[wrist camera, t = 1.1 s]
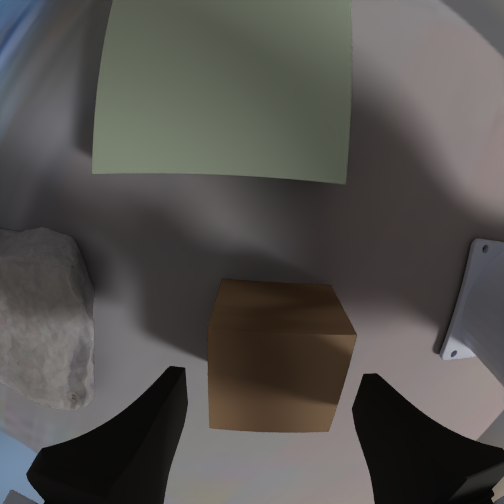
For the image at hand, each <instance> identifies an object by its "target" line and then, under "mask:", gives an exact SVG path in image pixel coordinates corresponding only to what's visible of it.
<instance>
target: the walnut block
mask: <svg viewBox="0 0 504 504" xmlns="http://www.w3.org/2000/svg"><path fill="white" fill-rule="evenodd" d="M356 338H357V334H356V332H355V330H354V328H353V326H352V324H351V322H350V320H349V318H348V316H347V315H346V313H345V311H344V309H343V307H342V305H341V303H340V301H339V300H338V298H337V296H336V294H335V292H334V290H333V288H332V287H331V285H315V284H297V283H279V282H263V281H248V280H233V279H222V281H221V284H220V288H219V291H218V294H217V298H216V301H215V304H214V308H213V311H212V315H211V318H210V321H209V325H208V398H209V428H213V429H224V430H237V431H253V432H329V429H330V426H331V424H332V421H333V418H334V415H335V411H336V408H337V405H338V402H339V399H340V396H341V392H342V389H343V386H344V382H345V379H346V375H347V372H348V368H349V365H350V361H351V357H352V353H353V349H354V346H355V342H356Z"/></svg>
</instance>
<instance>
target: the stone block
mask: <svg viewBox="0 0 504 504" xmlns="http://www.w3.org/2000/svg"><path fill="white" fill-rule="evenodd" d="M94 298H95V289H94V287H93V285H92V283H91V281H90V278H89V275H88V271H87V268H86V266H85V263H84V261H83V258H82V255H81V252H80V250H79V248H78V245H77V243H76V242H75V240H74V239H73V237H71V236H69V235H67V234H61V233H59V232H56V231H53V230H51V229H48V228H45V227H41V228H36V229H26V230H24V231H23V232H20V231H14V230H9V229H0V382H1V383H3V384H5V385H7V386H9V387H10V388H11V389H12V390H14V391H15V392H17V393H19V394H21V395H23V396H25V397H26V398H28V399H30V400H32V401H35V402H37V403H39V404H43V405H45V406H47V407H50V408H58V409H65V410H73V411H77V409H78V408H79V406H84V407H85V406H87V404H88V403H89V402H90V401H91V400H92V399H93V397H94V396H95V388H94V374H93V367H94V354H93V349H94V329H95V327H94V320H93V303H94Z"/></svg>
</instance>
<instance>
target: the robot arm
mask: <svg viewBox="0 0 504 504" xmlns="http://www.w3.org/2000/svg"><path fill="white" fill-rule="evenodd" d="M484 245H485V248H484V250H483V251H482V249H483V246H484ZM452 352H453V353H452ZM475 356H477V357H478V358H479V359H480V360H481V362H482V363H483V364H484V365H485V366H486V367H487V368H488V369H489V370H490V372H491V373H492V374H493V375H494V376H495V377H496V378H497V380H498V381H499V382H500V383H501V384H502V385H503V386H504V242H501V241H493V240H486V239H479V238H478V239H475V240H474V241H473V242H472V244H471V247H470V252H469V257H468V261H467V266H466V270H465V274H464V278H463V282H462V286H461V289H460V293H459V297H458V300H457V303H456V307H455V310H454V313H453V316H452V320H451V323H450V326H449V329H448V332H447V335H446V337H445V340H444V343H443V346H442V348H441V351H440V357H441V358H442V359H443V360H453V359H461V358H468V357H475ZM187 406H188V398H187V386H186V373H185V368H183V367H175V366H170V367H168V368H167V369H166V370H165V372H164V373H163V374H162V375H161V376H160V377H159V378H158V379H157V380H156V381H155V382H154V383H153V384H152V385H151V386H150V387H149V388H148V389H147V390H146V391H145V392H144V393H143V394H142V395H141V396H140V397H139V398H138V399H137V400H135V401H134V402H133V403H132V404H131V405H130V406H128V407H127V408H126V409H125V410H123V411H122V412H121V413H119V414H118V415H117V416H115V417H114V418H112V419H111V420H109V421H108V422H106V423H104V424H103V425H101V426H99V427H97V428H95V429H94V430H92V431H90V432H88V433H86V434H84V435H81V436H79V437H77V438H74V439H71V440H69V441H66V442H63V443H60V444H56V445H53V446H49V447H45V448H42V449H41V451H40V452H39V453H38V455H37V456H36V458H35V460H34V461H33V463H32V465H31V467H30V468H29V470H28V472H27V474H26V475H27V478H28V481H29V482H30V484H31V485H32V486H33V488H34V489H35V490H36V491H37V492H38V494H39V495H40V496H41V497H42V498H43V499H44V501H45V502H44V504H163V503H164V497H165V491H166V486H167V480H168V475H169V471H170V467H171V464H172V461H173V458H174V455H175V451H176V448H177V445H178V442H179V439H180V436H181V433H182V430H183V427H184V423H185V418H186V412H187ZM352 412H353V419H354V424H355V429H356V432H357V435H358V438H359V441H360V444H361V447H362V450H363V453H364V456H365V459H366V463H367V466H368V469H369V473H370V476H371V482H372V488H373V494H374V501H375V504H504V496H503V497H501V498H499V499H498V500H497V501H495V502H494V503H493V502H492V500H491V498H492V497H493V496H494V492H493V490H492V488H493V487H494V486H495V485H496V484H497V483H498V482H499V481H500V480H501V478H502V477H503V476H504V450H503V449H502V448H499V447H494V446H491V445H487V444H483V443H480V442H477V441H474V440H471V439H469V438H466V437H464V436H462V435H460V434H457V433H455V432H453V431H451V430H449V429H448V428H446V427H444V426H442V425H441V424H439V423H437V422H436V421H434V420H433V419H431V418H430V417H428V416H427V415H425V414H424V413H423V412H421V411H420V410H419V409H417V408H416V407H415V406H414V405H412V404H411V403H410V402H409V401H408V400H406V399H405V398H404V397H403V396H402V395H401V394H399V393H398V392H397V391H396V390H395V389H394V388H393V387H392V386H391V385H390V384H388V383H387V382H386V381H385V380H384V379H383V378H382V377H381V376H379V375H378V374H377V373H373V374H363V377H362V380H361V383H360V386H359V389H358V392H357V395H356V398H355V401H354V404H353V407H352ZM3 504H38V503H36V502H34V501H33V500H31V499H29V498H27V497H25V496H23V495H21V494H19V493H18V492H16V491H14V490H10V492H9V494H8V495H7V497H6V499H5V501H4V502H3Z"/></svg>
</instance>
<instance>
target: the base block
mask: <svg viewBox="0 0 504 504" xmlns="http://www.w3.org/2000/svg"><path fill="white" fill-rule="evenodd" d="M351 93H352V17H351V0H113V2H112V6H111V10H110V15H109V19H108V24H107V29H106V34H105V39H104V45H103V51H102V57H101V64H100V71H99V78H98V86H97V95H96V106H95V118H94V133H93V157H92V174H110V173H184V174H216V175H237V176H255V177H270V178H283V179H295V180H307V181H317V182H327V183H336V184H345V185H346V176H347V164H348V151H349V136H350V118H351Z"/></svg>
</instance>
